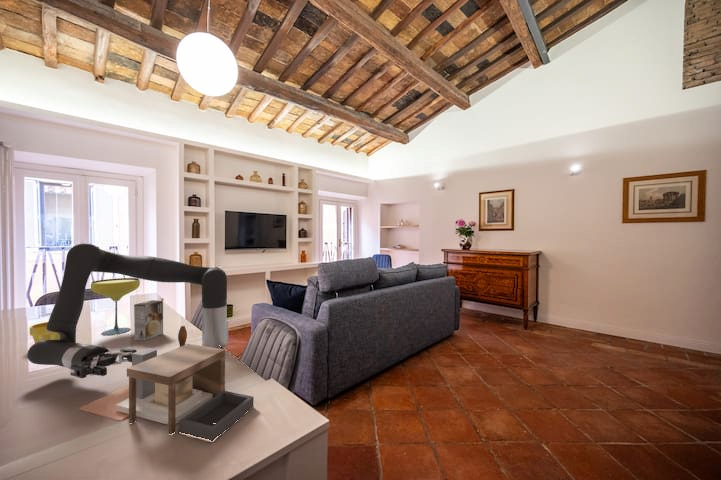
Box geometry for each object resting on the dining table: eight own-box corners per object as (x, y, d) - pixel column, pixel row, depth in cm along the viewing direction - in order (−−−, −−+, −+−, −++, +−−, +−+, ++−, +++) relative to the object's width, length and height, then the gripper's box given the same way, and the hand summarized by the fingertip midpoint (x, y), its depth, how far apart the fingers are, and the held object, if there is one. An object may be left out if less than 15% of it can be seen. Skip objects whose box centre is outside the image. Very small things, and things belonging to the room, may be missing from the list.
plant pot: (24, 349, 115) (24, 325, 115) (59, 341, 124) (59, 319, 124) (36, 353, 111) (36, 329, 111) (71, 344, 120) (71, 321, 120)
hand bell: (170, 370, 98) (170, 324, 98) (197, 365, 101) (197, 321, 101) (164, 381, 90) (164, 331, 90) (194, 376, 94) (194, 328, 94)
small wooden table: (187, 389, 85) (187, 343, 85) (224, 397, 81) (225, 349, 81) (126, 424, 69) (126, 368, 69) (169, 437, 65) (169, 377, 65)
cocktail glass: (132, 323, 150) (133, 277, 149) (145, 330, 139) (145, 280, 139) (86, 332, 135) (86, 281, 135) (95, 341, 124) (96, 284, 124)
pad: (140, 380, 91) (140, 379, 91) (178, 388, 86) (178, 388, 86) (78, 409, 75) (78, 408, 75) (120, 421, 71) (120, 420, 71)
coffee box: (152, 333, 136) (152, 299, 135) (163, 334, 134) (163, 300, 134) (133, 339, 127) (133, 304, 126) (145, 340, 125) (145, 304, 125)
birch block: (175, 393, 80) (176, 372, 80) (192, 396, 78) (192, 375, 78) (154, 405, 74) (154, 382, 74) (172, 409, 72) (172, 386, 72)
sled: (160, 387, 85) (160, 343, 85) (212, 399, 79) (212, 351, 79) (115, 410, 74) (115, 359, 74) (172, 425, 68) (173, 370, 68)
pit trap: (223, 401, 80) (223, 390, 80) (253, 407, 77) (253, 396, 77) (178, 433, 66) (178, 421, 66) (212, 443, 63) (212, 430, 63)
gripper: (54, 354, 80) (93, 362, 75) (112, 337, 93) (147, 343, 88) (54, 381, 80) (93, 390, 75) (112, 360, 93) (147, 367, 88)
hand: (122, 365), depth 82 cm, fingers open, 8 cm apart
